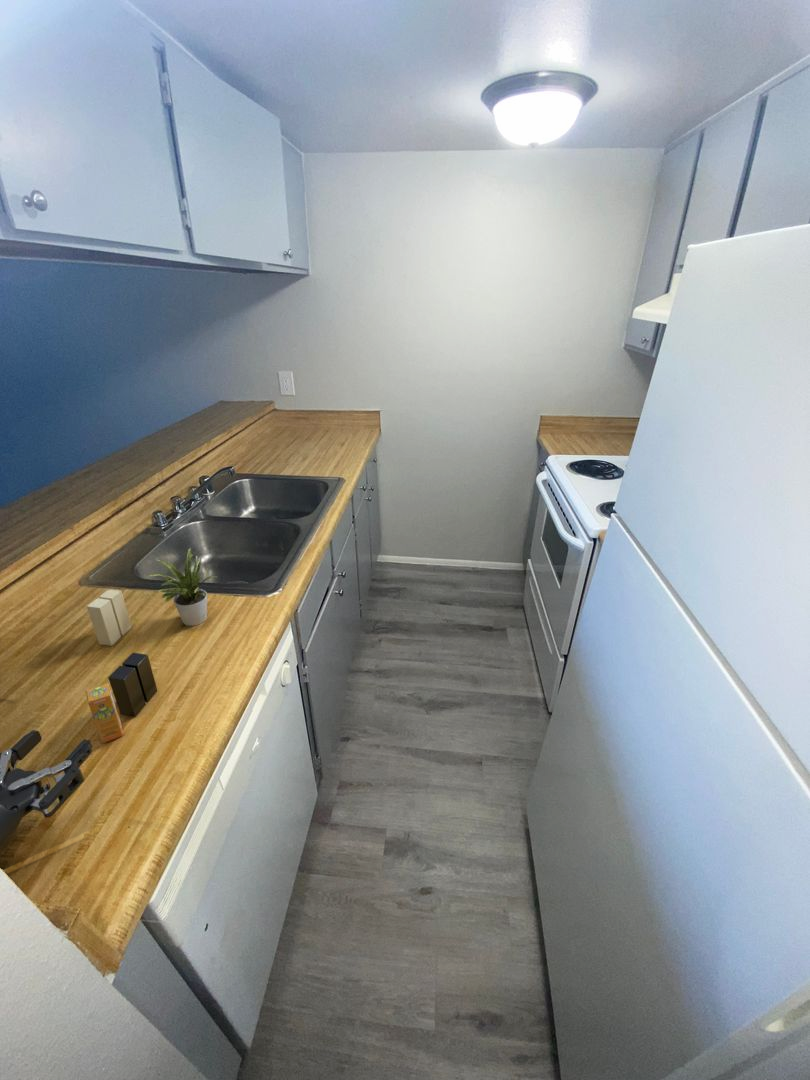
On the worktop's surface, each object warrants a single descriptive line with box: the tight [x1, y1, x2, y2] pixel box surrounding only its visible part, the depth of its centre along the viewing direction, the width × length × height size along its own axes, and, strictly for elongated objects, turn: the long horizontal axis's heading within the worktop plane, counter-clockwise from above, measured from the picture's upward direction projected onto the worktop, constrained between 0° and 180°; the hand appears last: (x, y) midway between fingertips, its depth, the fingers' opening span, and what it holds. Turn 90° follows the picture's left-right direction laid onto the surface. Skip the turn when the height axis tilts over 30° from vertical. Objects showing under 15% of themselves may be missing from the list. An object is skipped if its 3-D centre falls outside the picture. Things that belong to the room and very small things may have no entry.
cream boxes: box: [86, 588, 132, 647], centre depth 102 cm, size 6×3×10 cm, turn 171°
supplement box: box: [85, 682, 124, 744], centre depth 79 cm, size 3×3×10 cm
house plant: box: [145, 547, 216, 627], centre depth 107 cm, size 14×14×16 cm
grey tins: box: [107, 652, 158, 718], centre depth 86 cm, size 6×3×9 cm, turn 171°
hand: (63, 738), depth 71 cm, fingers open, 8 cm apart
